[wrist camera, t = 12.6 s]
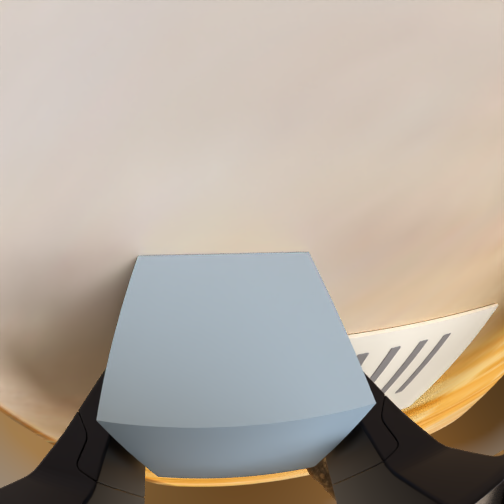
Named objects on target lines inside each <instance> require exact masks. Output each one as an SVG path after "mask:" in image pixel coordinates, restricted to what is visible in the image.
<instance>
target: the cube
mask: <svg viewBox="0 0 504 504" xmlns="http://www.w3.org/2000/svg"><path fill="white" fill-rule="evenodd" d="M375 404H376V402H375V399H374V397H373V394H372V392H371V389H370V387H369V384H368V382H367V379H366V377H365V374H364V372H363V370H362V367H361V365H360V363H359V360H358V358H357V356H356V353H355V351H354V349H353V346H352V344H351V342H350V339H349V337H348V335H347V333H346V330H345V328H344V326H343V324H342V321H341V319H340V317H339V315H338V313H337V310H336V308H335V306H334V304H333V302H332V300H331V297H330V295H329V293H328V291H327V289H326V287H325V285H324V283H323V280H322V278H321V276H320V274H319V272H318V270H317V268H316V266H315V264H314V262H313V260H312V258H311V256H310V254H309V252H290V253H245V254H200V255H153V256H138V257H137V260H136V263H135V266H134V269H133V272H132V275H131V278H130V282H129V285H128V288H127V291H126V295H125V298H124V301H123V305H122V308H121V312H120V315H119V319H118V322H117V326H116V330H115V334H114V338H113V342H112V346H111V350H110V354H109V358H108V362H107V367H106V371H105V376H104V381H103V386H102V391H101V396H100V402H99V407H98V413H97V421H98V423H99V424H100V425H101V426H102V427H103V428H104V429H105V430H106V431H107V432H108V433H109V434H110V435H111V436H112V437H113V438H114V439H115V440H116V441H117V442H118V443H120V444H121V445H122V446H123V447H124V448H125V449H126V450H127V451H128V452H129V453H130V454H132V455H133V456H134V457H135V458H136V459H137V460H138V461H140V462H141V463H142V464H143V465H144V466H146V467H147V468H148V469H149V470H150V471H152V472H153V473H154V474H155V475H157V476H158V477H171V478H231V477H246V476H257V475H266V474H274V473H281V472H288V471H294V470H299V469H305V468H310V467H314V466H315V465H317V464H318V463H319V462H320V461H321V460H322V459H323V458H324V457H325V456H326V455H328V454H329V453H330V452H331V451H332V450H333V449H334V448H335V447H336V446H337V445H338V444H339V443H340V442H341V441H342V440H343V439H344V438H345V437H346V436H347V435H348V434H349V433H350V432H351V431H352V430H353V429H354V428H355V426H356V425H357V424H358V423H359V422H360V421H361V420H362V419H363V418H364V417H365V415H366V414H367V413H368V412H369V411H370V410H371V409H372V407H373V406H374V405H375Z"/></svg>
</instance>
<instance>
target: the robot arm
mask: <svg viewBox="0 0 504 504" xmlns="http://www.w3.org/2000/svg"><path fill="white" fill-rule="evenodd" d="M105 371H106V369H105ZM105 371H104V372H103V374H102V375H101V377H100V378H99V380H98V381H97V383H96V384H95V386H94V387H93V389H92V390H91V392H90V393H89V395H88V396H87V398H86V399H85V401H84V403H83V404H82V406H81V407H80V409H79V412H77V413H76V415H75V417H74V418H73V420H72V421H71V423H70V424H69V426H68V427H67V429H66V430H65V432H64V433H63V434H62V436H61V437H60V438H59V440H58V441H57V442H56V444H55V445H54V446H53V448H52V449H51V450H50V451H49V453H48V454H47V455H46V457H45V458H44V459H43V460H42V462H41V463H40V464H39V465H38V467H37V468H36V469H35V470H34V471H33V472H31V473H30V474H29V475H27V476H26V477H24V478H22V479H20V480H17V481H15V482H13V483H11V484H9V485H7V486H4V487H2V488H0V504H144V492H145V466H144V465H143V464H142V463H141V462H140V461H138V460H137V459H136V458H135V457H134V456H133V455H132V454H130V453H129V452H128V451H127V450H126V449H125V448H124V447H123V446H122V445H121V444H120V443H118V442H117V441H116V440H115V439H114V438H113V437H112V436H111V435H110V434H109V433H108V432H107V431H106V430H105V429H104V428H103V427H102V426H101V425H100V424H99V423H98V421H97V413H98V407H99V402H100V396H101V391H102V386H103V381H104V376H105ZM364 374H365V373H364ZM365 377H366V379H367V382H368V384H369V387H370V389H371V392H372V394H373V397H374V399H375V402H376V404H375V405H374V406H373V407H372V409H371V410H370V411H369V412H368V413H367V414H366V415H365V417H364V418H363V419H362V420H361V421H360V422H359V423H358V424H357V425H356V426H355V428H354V429H353V430H352V431H351V432H350V433H349V434H348V435H347V436H346V437H345V438H344V439H343V440H342V441H341V442H340V443H339V444H338V445H337V446H336V447H335V448H334V449H333V450H332V451H331V452H330V453H329V454H328V455H326V456H325V458H326V462H327V466H328V470H329V474H330V477H331V481H332V484H333V485H332V486H333V490H334V494H335V498H336V501H337V504H504V450H503V451H501V452H499V453H497V454H496V455H494V456H489V455H483V454H478V453H473V452H468V451H464V450H459V449H455V448H451V447H448V446H445V445H443V444H441V443H440V442H438V441H437V440H435V439H434V438H433V437H431V436H430V435H429V434H428V433H427V432H426V431H424V430H423V429H422V428H421V427H419V426H418V425H417V424H416V423H415V422H413V421H412V420H411V419H410V418H409V417H408V416H407V415H405V414H404V413H403V412H402V411H401V410H400V409H399V408H398V407H397V406H396V405H395V404H394V403H393V402H392V401H391V400H390V399H389V398H388V397H387V396H386V395H385V394H384V393H383V392H382V391H381V389H380V388H379V387H378V386H377V385H376V384H375V383H374V382H373V381H372V380H371V379H370V378H369V377H368V376H367V375H366V374H365Z"/></svg>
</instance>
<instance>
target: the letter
mask: <svg viewBox="0 0 504 504" xmlns="http://www.w3.org/2000/svg"><path fill="white" fill-rule="evenodd" d="M497 307H498V304H497V303H496V304H493V305H489V306H486V307H482V308H478V309H475V310H471V311H467V312H463V313H459V314H455V315H451V316H447V317H443V318H438V319H434V320H430V321H425V322H420V323H415V324H410V325H405V326H400V327H394V328H389V329H383V330H377V331H371V332H365V333H358V334H351V335H348V337H349V339H350V342H351V344H352V346H353V349H354V351H355V353H356V356H357V358H358V360H359V363H360V365H361V367H362V370H363V372H364V373H365V374H366V375H367V376H368V377H369V378H370V379H371V380H372V381H373V382H374V383H375V384H376V385H377V386H378V387H379V388H380V389H381V391H382V392H383V393H384V394H385V395H386V396H387V397H388V398H389V399H390V400H391V401H392V402H393V403H394V404H395V405H396V406H397V407H398V408H399V409H400V410H401V409H404V408H407V407H409V406H410V405H412V404H413V403H414V402H415V401H416V400H417V399H418V398H419V397H420V396H421V395H422V394H423V393H425V392H426V391H427V390H428V389H429V388H430V387H431V386H432V385H433V384H434V383H435V382H436V381H437V380H438V379H439V378H440V377H441V376H442V374H443V373H444V372H445V371H446V370H447V369H448V368H449V367H450V366H451V365H452V364H453V363H454V361H455V360H456V359H457V358H458V357H459V356H460V355H461V353H462V352H463V351H464V350H465V349H466V348H467V346H468V345H469V344H470V343H471V341H472V340H473V339H474V338H475V337H476V335H477V334H478V333H479V331H480V330H481V329H482V327H483V326H484V325H485V323H486V322H487V321H488V319H489V318H490V317H491V315H492V314H493V312H494V311H495V310H496V308H497Z"/></svg>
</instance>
